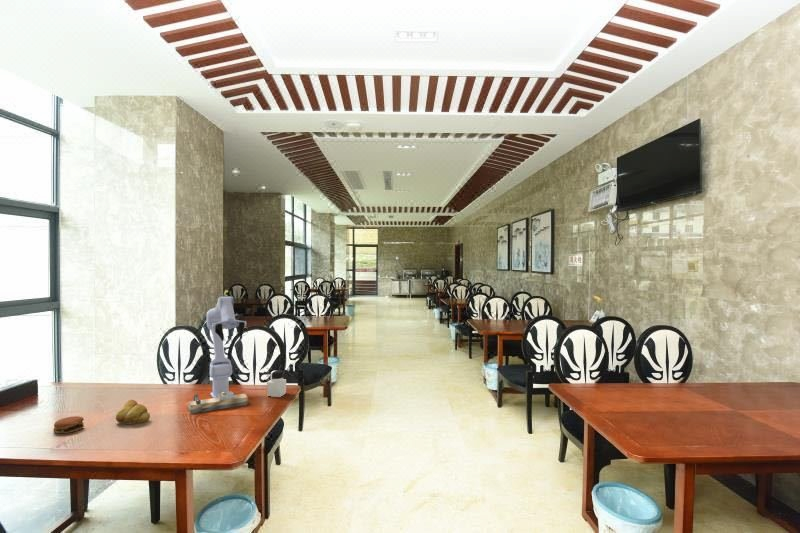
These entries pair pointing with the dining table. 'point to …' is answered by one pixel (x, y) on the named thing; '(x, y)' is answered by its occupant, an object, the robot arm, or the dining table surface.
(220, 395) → the lever cap
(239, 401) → the plane body
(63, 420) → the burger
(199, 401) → the lever
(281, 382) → the grey padlock
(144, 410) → the bread roll
